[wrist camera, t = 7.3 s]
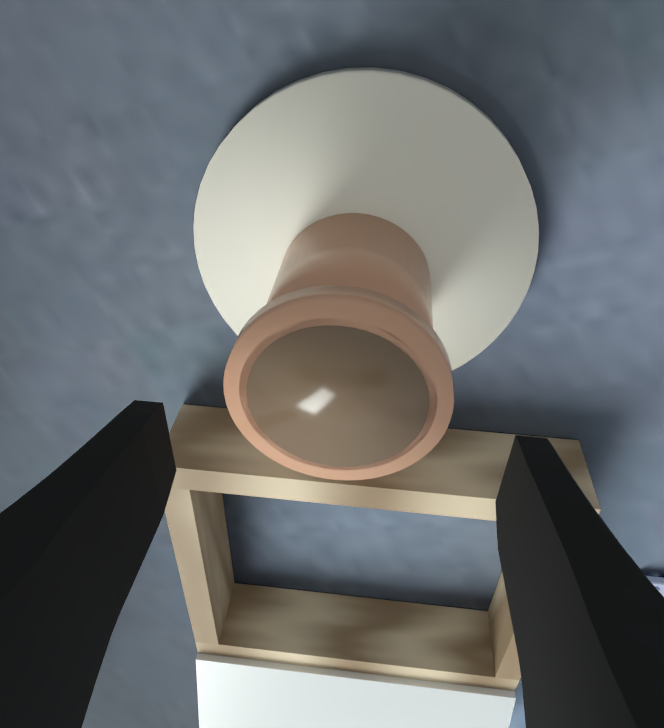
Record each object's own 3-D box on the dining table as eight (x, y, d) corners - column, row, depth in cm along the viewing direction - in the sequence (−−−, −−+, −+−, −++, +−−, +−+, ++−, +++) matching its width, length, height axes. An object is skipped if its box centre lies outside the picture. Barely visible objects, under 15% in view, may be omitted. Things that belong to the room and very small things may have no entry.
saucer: (576, 77, 16) (584, 83, 15) (497, 388, 23) (499, 402, 22) (179, 57, 17) (170, 63, 16) (216, 365, 23) (211, 377, 23)
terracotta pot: (455, 206, 18) (472, 313, 13) (431, 360, 21) (438, 490, 16) (264, 195, 18) (211, 295, 13) (272, 348, 22) (232, 471, 17)
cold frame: (578, 440, 24) (636, 618, 18) (464, 729, 41) (473, 868, 35) (182, 404, 25) (110, 560, 19) (234, 700, 42) (205, 830, 36)
